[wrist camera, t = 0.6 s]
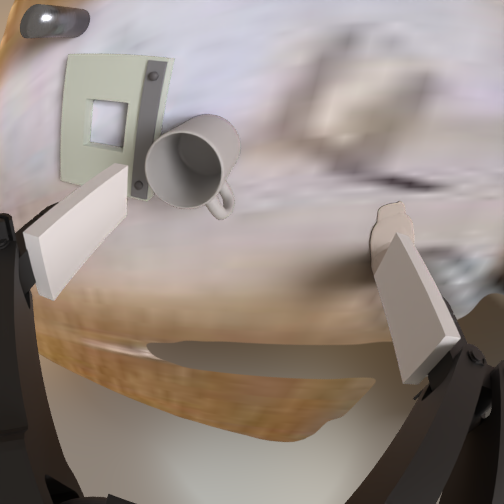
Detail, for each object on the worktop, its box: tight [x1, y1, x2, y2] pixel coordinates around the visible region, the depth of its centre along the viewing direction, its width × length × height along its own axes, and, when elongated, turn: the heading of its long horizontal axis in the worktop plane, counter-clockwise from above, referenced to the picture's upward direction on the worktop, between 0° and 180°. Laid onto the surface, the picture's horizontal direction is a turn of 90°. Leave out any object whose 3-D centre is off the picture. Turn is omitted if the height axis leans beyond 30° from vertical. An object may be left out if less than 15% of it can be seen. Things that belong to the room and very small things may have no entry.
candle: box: [370, 201, 428, 376], centre depth 34 cm, size 7×14×20 cm, turn 15°
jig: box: [60, 54, 175, 202], centre depth 36 cm, size 20×16×3 cm
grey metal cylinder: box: [20, 4, 90, 38], centre depth 24 cm, size 5×5×10 cm
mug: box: [145, 114, 241, 220], centre depth 34 cm, size 12×8×11 cm
